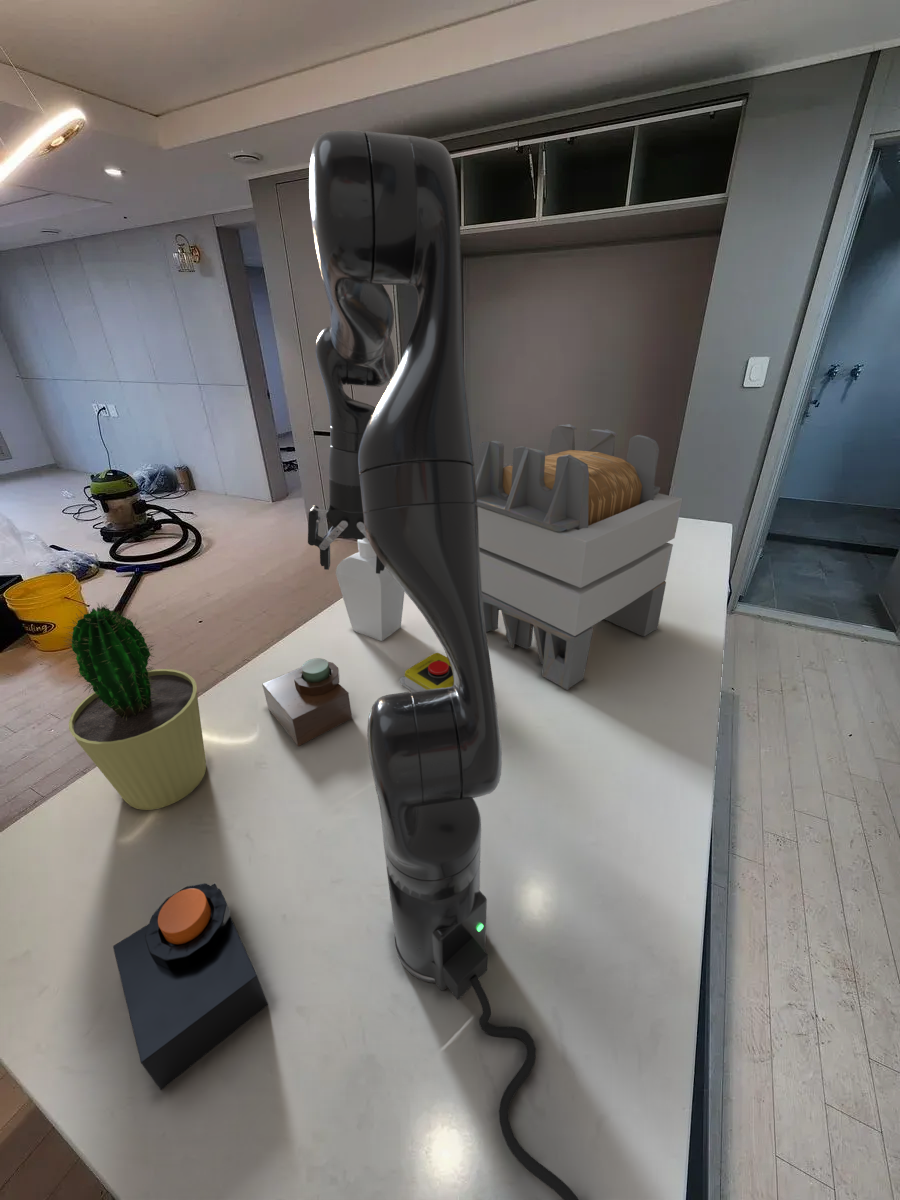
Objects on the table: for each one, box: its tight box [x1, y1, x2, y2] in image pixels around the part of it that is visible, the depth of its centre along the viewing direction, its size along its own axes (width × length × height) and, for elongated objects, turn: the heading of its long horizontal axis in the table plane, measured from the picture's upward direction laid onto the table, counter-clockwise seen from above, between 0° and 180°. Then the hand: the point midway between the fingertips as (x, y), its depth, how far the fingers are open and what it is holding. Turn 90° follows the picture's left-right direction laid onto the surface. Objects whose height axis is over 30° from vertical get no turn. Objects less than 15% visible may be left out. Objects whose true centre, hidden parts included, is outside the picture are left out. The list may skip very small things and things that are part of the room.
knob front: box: [158, 888, 211, 945], centre depth 51 cm, size 4×4×2 cm
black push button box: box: [112, 882, 269, 1091], centre depth 50 cm, size 12×10×8 cm
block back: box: [262, 661, 353, 747], centre depth 87 cm, size 12×11×8 cm
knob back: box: [301, 657, 330, 683], centre depth 86 cm, size 4×4×2 cm
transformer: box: [475, 423, 683, 691], centre depth 103 cm, size 34×33×41 cm
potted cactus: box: [60, 602, 207, 811], centre depth 69 cm, size 15×15×30 cm
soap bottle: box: [335, 538, 405, 642], centre depth 107 cm, size 12×10×26 cm
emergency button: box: [399, 652, 454, 692], centre depth 93 cm, size 9×4×15 cm
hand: (353, 569), depth 86 cm, fingers open, 8 cm apart
